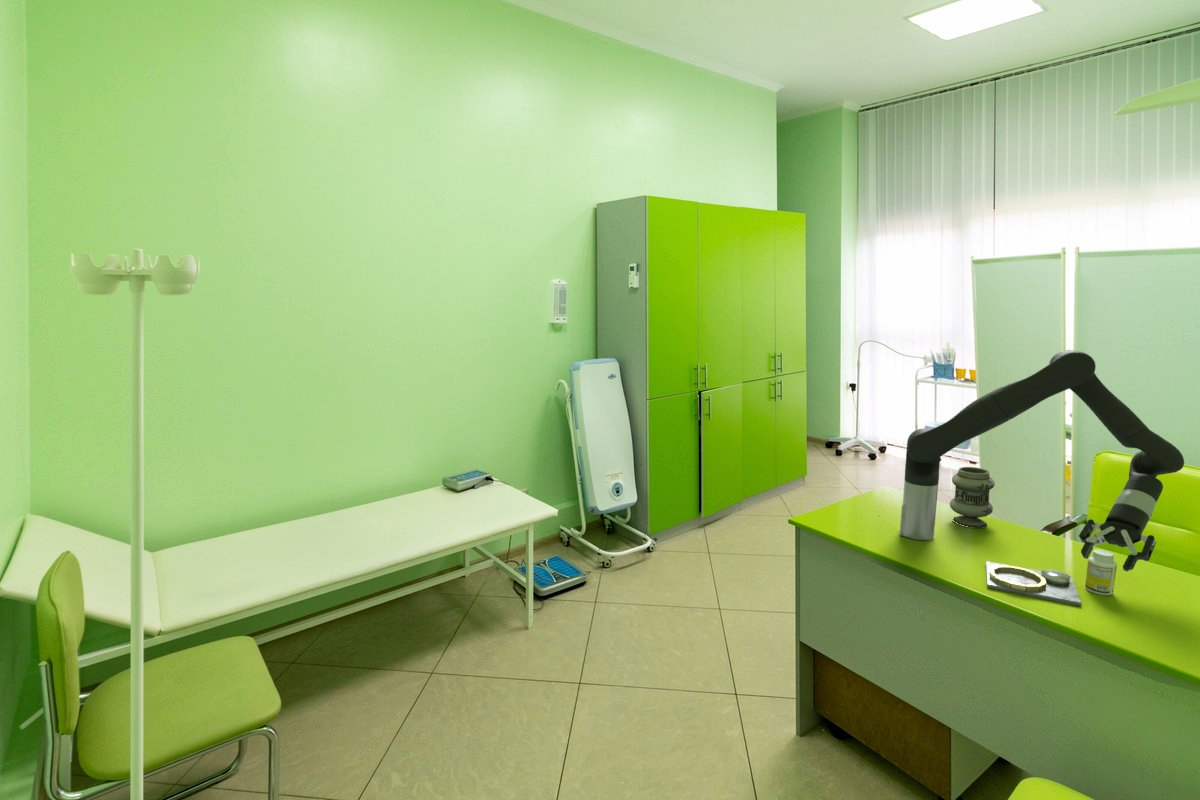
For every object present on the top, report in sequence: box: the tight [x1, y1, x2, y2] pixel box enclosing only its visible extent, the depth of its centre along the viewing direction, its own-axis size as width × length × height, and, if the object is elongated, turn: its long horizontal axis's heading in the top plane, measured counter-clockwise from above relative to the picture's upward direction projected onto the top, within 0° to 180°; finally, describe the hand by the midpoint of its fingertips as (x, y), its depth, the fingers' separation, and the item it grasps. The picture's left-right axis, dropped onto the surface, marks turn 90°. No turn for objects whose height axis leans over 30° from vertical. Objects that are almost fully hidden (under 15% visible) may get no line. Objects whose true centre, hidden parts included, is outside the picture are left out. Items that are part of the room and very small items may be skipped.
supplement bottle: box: [1084, 549, 1118, 596], centre depth 154 cm, size 6×6×10 cm
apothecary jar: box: [949, 466, 995, 529], centre depth 199 cm, size 12×12×18 cm
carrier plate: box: [985, 560, 1082, 607], centre depth 158 cm, size 19×16×2 cm
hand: (1104, 563), depth 154 cm, fingers open, 8 cm apart
